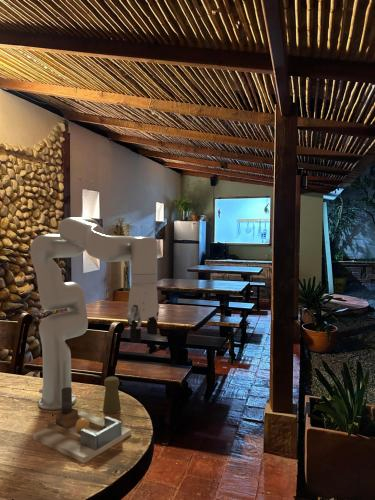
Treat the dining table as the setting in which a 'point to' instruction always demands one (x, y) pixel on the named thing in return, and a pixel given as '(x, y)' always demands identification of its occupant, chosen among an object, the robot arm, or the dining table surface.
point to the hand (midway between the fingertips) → (144, 338)
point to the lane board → (75, 438)
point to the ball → (82, 424)
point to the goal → (102, 434)
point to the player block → (66, 410)
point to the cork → (111, 395)
